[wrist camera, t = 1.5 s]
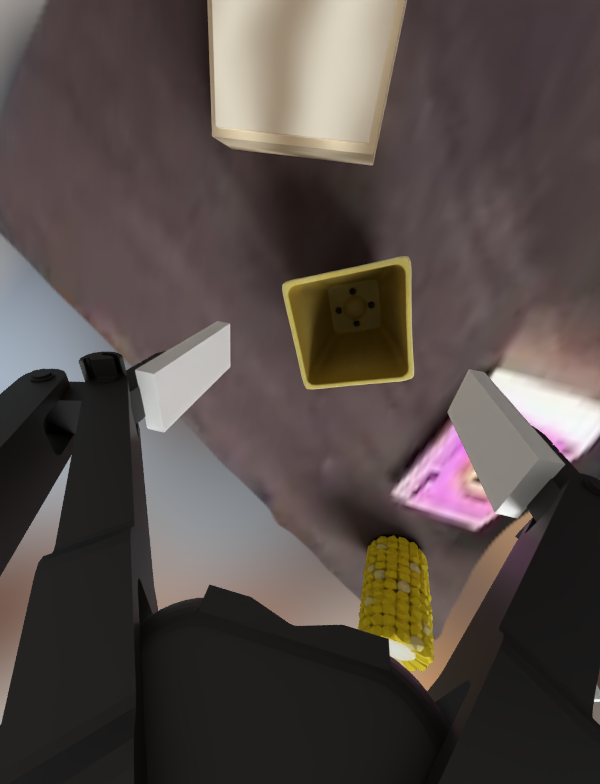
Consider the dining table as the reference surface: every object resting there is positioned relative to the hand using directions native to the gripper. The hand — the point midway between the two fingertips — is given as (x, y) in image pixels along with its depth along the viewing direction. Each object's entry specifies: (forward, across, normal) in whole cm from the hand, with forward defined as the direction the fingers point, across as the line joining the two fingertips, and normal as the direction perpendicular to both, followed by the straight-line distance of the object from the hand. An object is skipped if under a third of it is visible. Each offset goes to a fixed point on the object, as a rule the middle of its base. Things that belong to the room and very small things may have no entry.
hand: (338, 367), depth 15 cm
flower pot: (+15, 0, 0) cm, 15 cm away
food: (+15, +15, -38) cm, 43 cm away
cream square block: (+15, -7, +17) cm, 24 cm away
